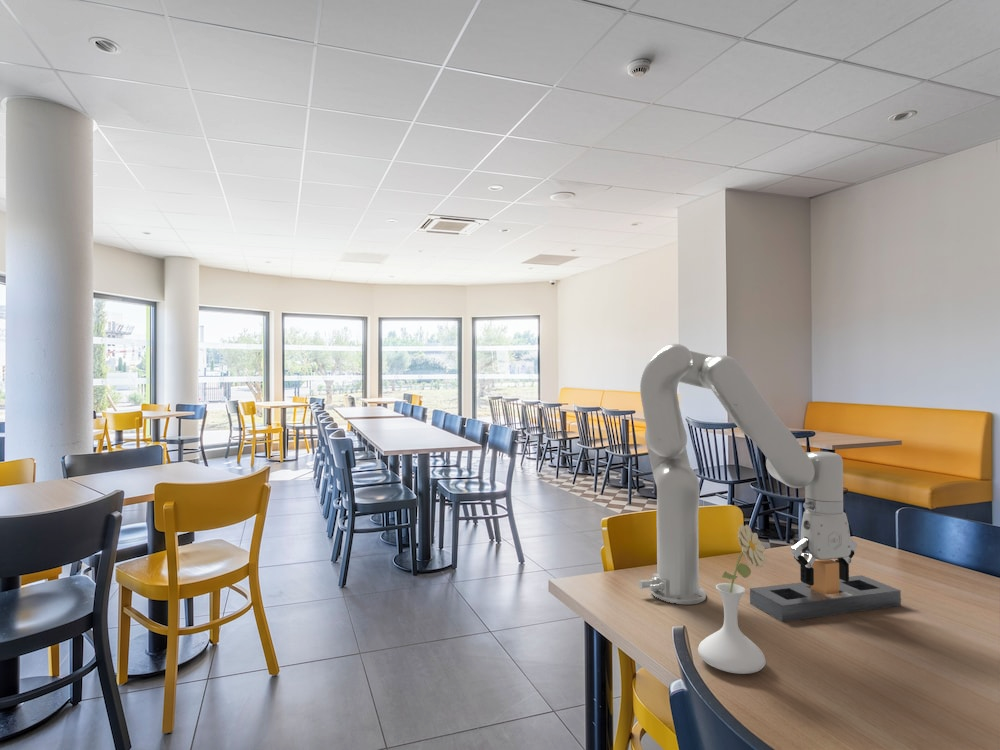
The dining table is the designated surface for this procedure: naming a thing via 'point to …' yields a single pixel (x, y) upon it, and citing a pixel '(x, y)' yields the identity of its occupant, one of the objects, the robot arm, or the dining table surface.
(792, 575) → the dining table surface
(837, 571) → the square peg
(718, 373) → the robot arm
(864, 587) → the peg board
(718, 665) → the flower in vase
